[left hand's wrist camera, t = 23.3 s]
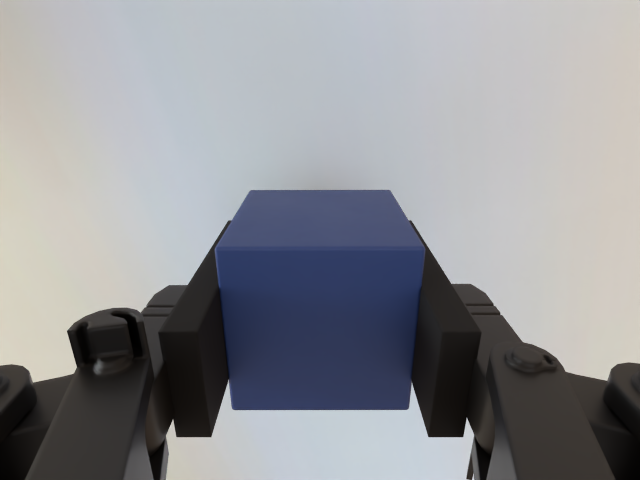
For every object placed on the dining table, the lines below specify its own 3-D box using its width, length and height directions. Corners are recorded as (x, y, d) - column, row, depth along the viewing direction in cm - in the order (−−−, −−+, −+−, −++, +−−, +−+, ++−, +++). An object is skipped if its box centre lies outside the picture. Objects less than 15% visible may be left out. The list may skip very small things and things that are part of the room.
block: (390, 189, 14) (426, 247, 9) (382, 311, 15) (409, 411, 11) (249, 189, 14) (213, 247, 9) (257, 311, 15) (231, 411, 11)
